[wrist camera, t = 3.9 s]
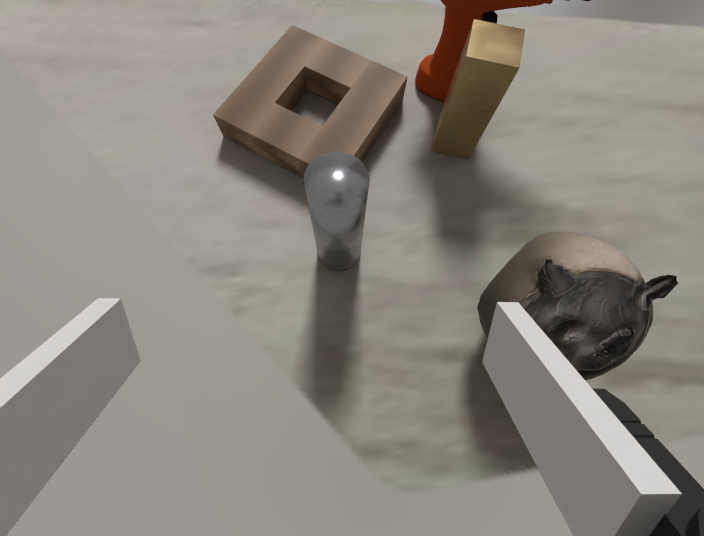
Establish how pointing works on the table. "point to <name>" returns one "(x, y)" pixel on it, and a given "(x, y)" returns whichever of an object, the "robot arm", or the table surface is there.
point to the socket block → (322, 79)
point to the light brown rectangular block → (477, 86)
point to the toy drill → (458, 40)
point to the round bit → (337, 207)
